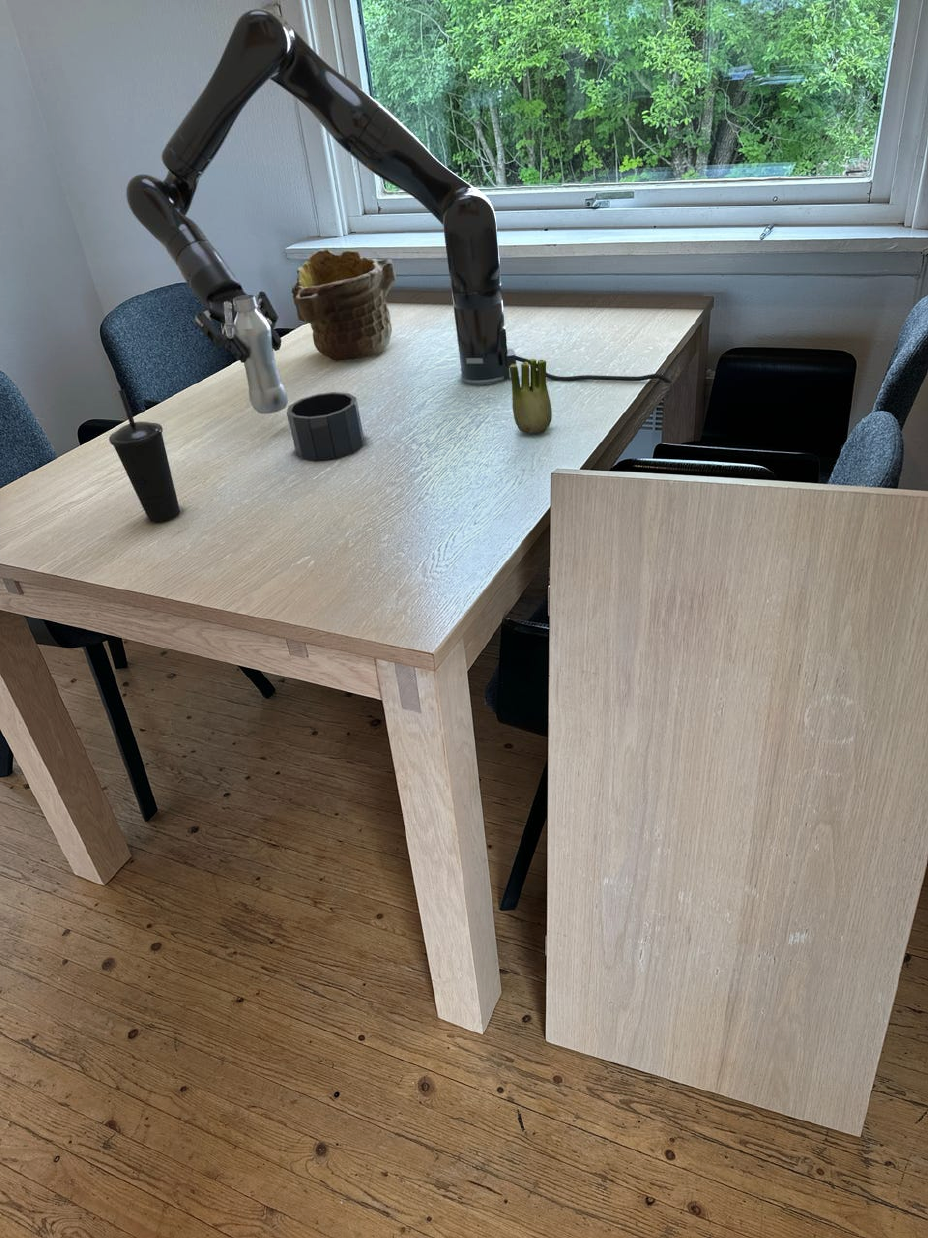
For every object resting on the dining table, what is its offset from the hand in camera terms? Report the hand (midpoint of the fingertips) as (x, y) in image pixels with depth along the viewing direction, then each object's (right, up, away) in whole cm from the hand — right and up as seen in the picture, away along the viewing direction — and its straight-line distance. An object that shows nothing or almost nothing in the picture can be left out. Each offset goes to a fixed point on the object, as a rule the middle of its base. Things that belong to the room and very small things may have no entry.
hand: (262, 353), depth 150 cm
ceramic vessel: (+10, +13, +44) cm, 46 cm away
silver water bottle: (0, -8, +7) cm, 11 cm away
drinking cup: (-12, -30, -15) cm, 35 cm away
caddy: (+12, -16, 0) cm, 20 cm away
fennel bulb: (+47, -15, -5) cm, 49 cm away
